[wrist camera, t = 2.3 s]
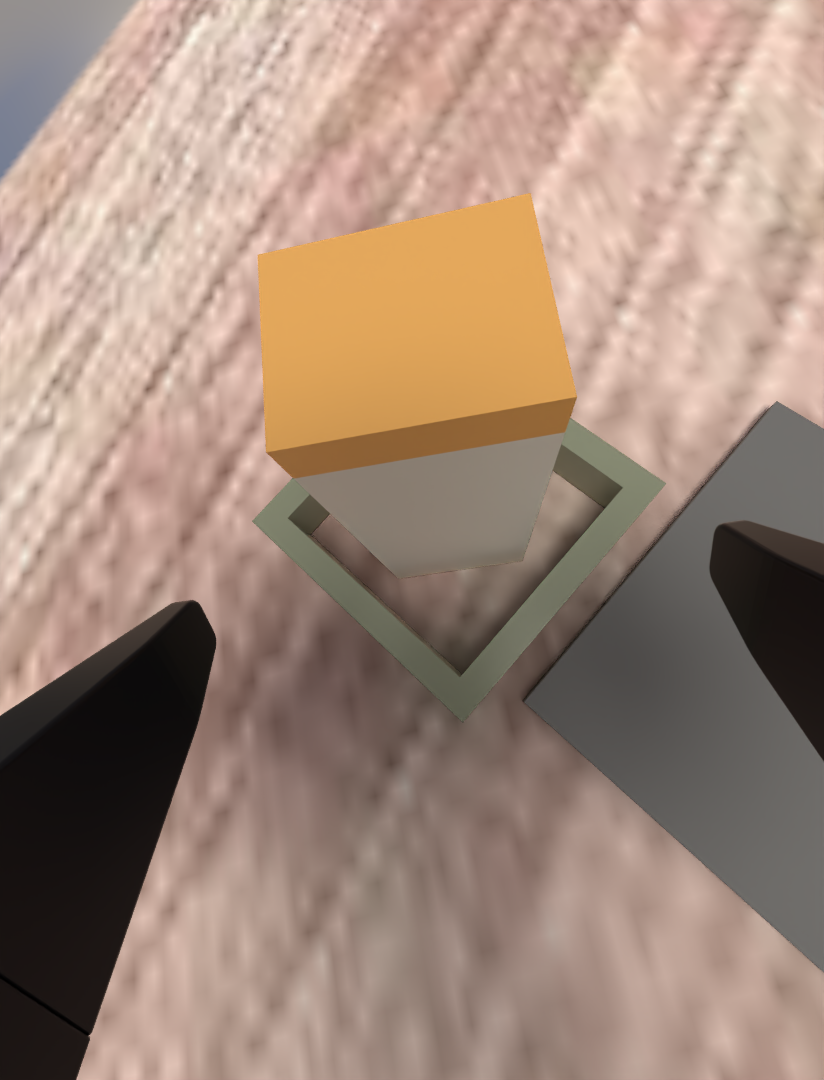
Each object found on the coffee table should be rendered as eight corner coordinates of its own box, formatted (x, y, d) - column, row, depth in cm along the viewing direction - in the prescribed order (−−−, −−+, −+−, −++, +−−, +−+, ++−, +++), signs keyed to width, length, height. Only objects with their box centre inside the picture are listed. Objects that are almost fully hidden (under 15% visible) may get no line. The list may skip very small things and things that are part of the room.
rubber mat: (867, 1011, 15) (883, 1025, 14) (522, 701, 18) (523, 702, 18) (1139, 631, 16) (1163, 630, 15) (768, 408, 20) (776, 401, 19)
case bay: (466, 715, 18) (462, 722, 16) (278, 537, 21) (252, 521, 19) (643, 505, 19) (666, 483, 17) (441, 362, 22) (435, 325, 20)
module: (522, 561, 20) (577, 396, 8) (398, 578, 20) (266, 452, 8) (505, 467, 21) (530, 193, 9) (388, 487, 21) (257, 255, 9)
